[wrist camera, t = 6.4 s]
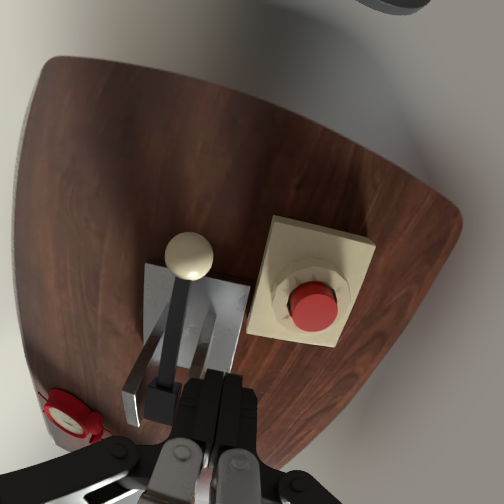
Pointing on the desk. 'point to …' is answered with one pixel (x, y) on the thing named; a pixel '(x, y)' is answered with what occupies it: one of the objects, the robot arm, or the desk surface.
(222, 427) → the robot arm
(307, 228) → the control block
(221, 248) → the desk surface
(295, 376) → the desk surface
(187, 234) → the lever
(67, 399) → the alarm clock
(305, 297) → the button
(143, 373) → the bracket
